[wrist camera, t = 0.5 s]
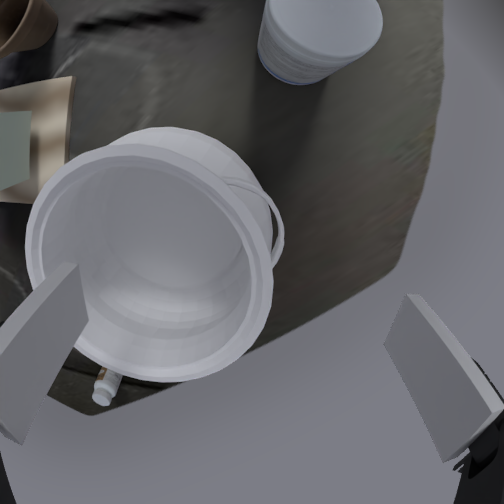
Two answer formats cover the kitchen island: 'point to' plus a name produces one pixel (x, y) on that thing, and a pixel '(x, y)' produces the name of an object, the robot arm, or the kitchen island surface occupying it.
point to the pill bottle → (106, 386)
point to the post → (41, 131)
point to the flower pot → (25, 25)
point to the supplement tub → (316, 36)
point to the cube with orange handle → (14, 147)
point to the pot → (160, 252)
